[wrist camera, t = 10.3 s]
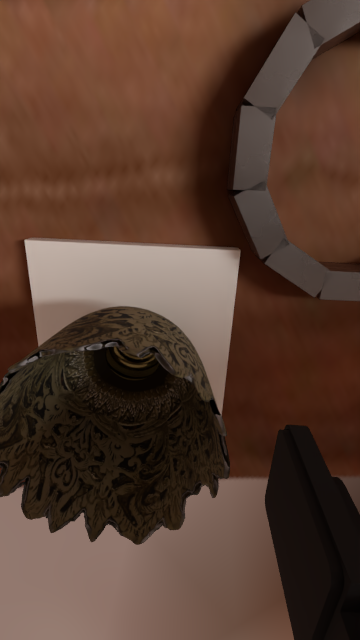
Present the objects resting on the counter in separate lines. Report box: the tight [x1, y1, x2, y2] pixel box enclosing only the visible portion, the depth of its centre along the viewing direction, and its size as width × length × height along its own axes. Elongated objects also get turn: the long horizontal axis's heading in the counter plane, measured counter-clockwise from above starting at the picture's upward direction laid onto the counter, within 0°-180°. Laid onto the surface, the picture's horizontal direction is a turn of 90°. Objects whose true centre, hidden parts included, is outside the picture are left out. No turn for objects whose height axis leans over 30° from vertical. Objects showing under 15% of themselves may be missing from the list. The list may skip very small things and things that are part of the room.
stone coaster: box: [24, 238, 241, 416], centre depth 17 cm, size 10×10×1 cm
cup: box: [0, 306, 230, 545], centre depth 13 cm, size 8×7×8 cm
